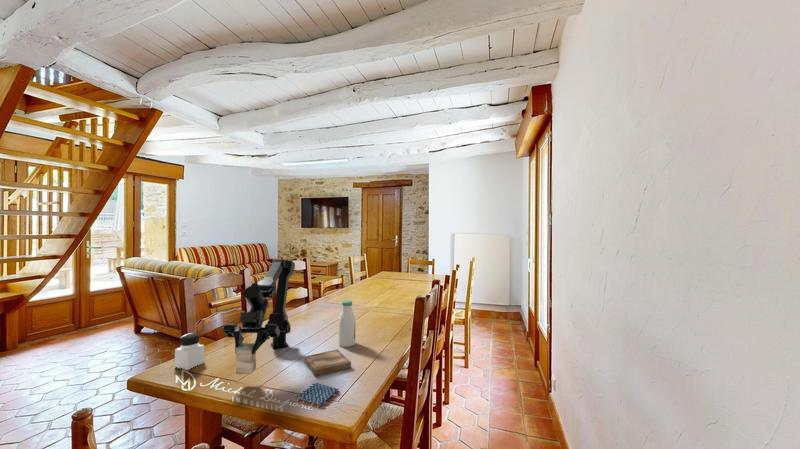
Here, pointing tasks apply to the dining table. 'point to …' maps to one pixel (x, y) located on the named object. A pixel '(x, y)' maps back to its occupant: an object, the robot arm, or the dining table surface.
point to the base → (327, 363)
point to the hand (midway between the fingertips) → (244, 354)
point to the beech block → (245, 359)
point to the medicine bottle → (189, 352)
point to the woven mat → (318, 395)
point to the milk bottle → (346, 325)
